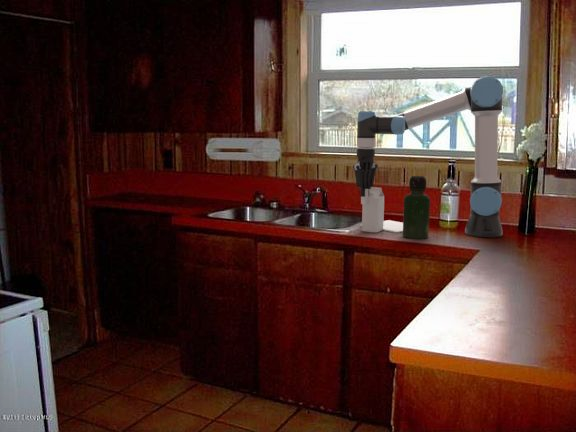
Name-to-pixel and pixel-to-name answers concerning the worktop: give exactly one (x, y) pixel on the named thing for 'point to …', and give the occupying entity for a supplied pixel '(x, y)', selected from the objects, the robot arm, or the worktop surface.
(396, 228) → the mat
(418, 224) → the green bottle
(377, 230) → the milk carton
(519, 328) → the worktop surface
